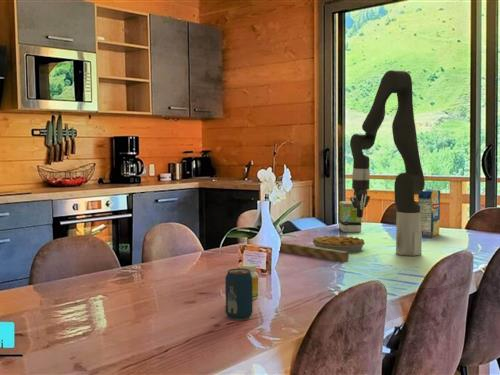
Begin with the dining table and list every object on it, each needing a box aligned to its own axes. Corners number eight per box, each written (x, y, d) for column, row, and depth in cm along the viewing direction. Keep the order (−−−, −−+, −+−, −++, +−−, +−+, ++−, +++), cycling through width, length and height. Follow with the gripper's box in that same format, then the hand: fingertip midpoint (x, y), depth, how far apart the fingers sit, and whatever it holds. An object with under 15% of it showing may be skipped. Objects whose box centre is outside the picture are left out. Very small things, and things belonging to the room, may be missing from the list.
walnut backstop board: (348, 260, 218) (348, 251, 218) (343, 262, 216) (343, 252, 216) (277, 249, 243) (277, 240, 243) (272, 250, 241) (272, 241, 241)
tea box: (361, 232, 292) (362, 203, 291) (342, 232, 292) (342, 203, 291) (357, 228, 307) (357, 200, 306) (338, 228, 307) (338, 200, 306)
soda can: (252, 312, 150) (252, 267, 149) (252, 320, 143) (253, 273, 142) (225, 313, 150) (225, 267, 149) (225, 321, 143) (225, 273, 142)
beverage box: (417, 235, 282) (418, 190, 281) (426, 232, 291) (427, 189, 289) (430, 236, 278) (432, 191, 276) (439, 234, 286) (440, 190, 285)
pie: (347, 243, 259) (347, 232, 258) (374, 252, 238) (374, 240, 238) (303, 246, 251) (304, 235, 250) (328, 255, 230) (328, 243, 230)
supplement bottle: (240, 300, 162) (240, 267, 161) (238, 295, 167) (238, 263, 167) (259, 300, 162) (259, 266, 162) (257, 295, 168) (257, 262, 167)
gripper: (359, 179, 247) (358, 219, 248) (376, 178, 256) (375, 217, 258) (345, 178, 252) (344, 217, 253) (361, 177, 262) (360, 215, 263)
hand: (359, 217), depth 256 cm, fingers closed
